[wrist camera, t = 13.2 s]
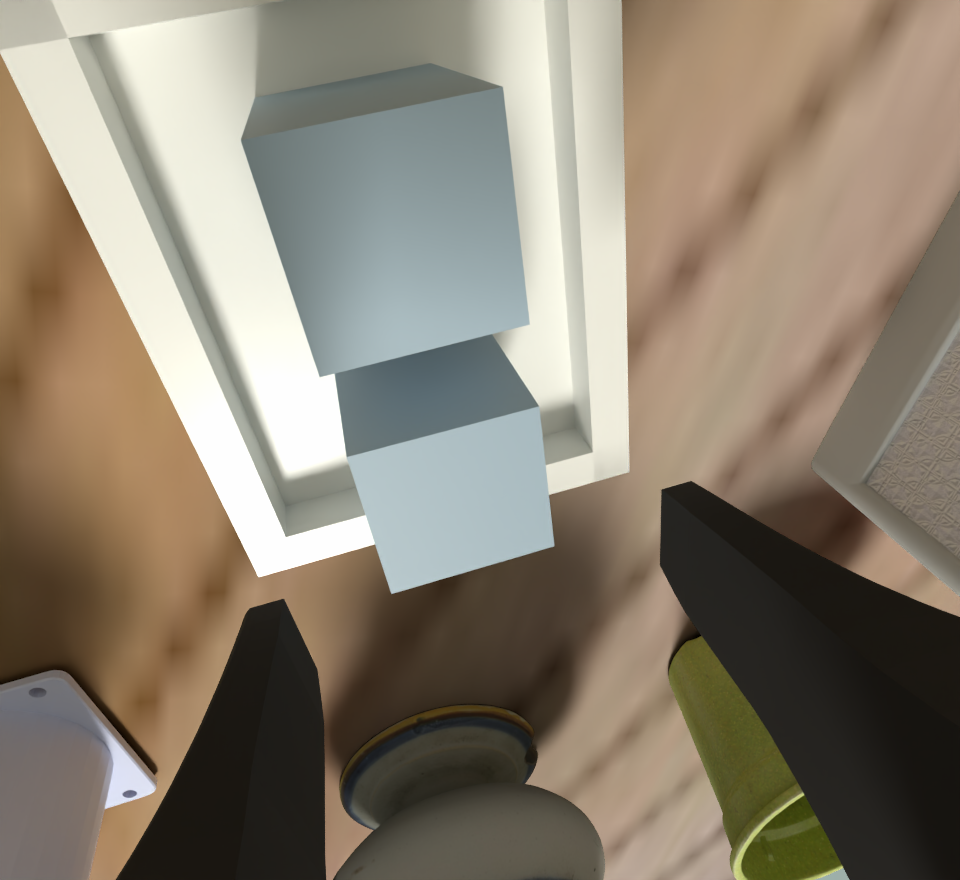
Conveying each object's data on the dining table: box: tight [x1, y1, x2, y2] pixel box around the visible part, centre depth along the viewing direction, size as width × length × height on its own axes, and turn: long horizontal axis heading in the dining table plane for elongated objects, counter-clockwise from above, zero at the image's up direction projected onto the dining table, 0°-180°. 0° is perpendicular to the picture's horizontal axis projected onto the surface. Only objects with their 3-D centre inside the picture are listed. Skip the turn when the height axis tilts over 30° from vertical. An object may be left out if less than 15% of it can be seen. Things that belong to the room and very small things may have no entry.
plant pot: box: [669, 636, 843, 880], centre depth 29 cm, size 9×9×9 cm
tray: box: [0, 0, 629, 577], centre depth 17 cm, size 12×15×2 cm
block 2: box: [335, 334, 554, 594], centre depth 17 cm, size 4×4×6 cm
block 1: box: [241, 63, 530, 377], centre depth 13 cm, size 4×4×6 cm
